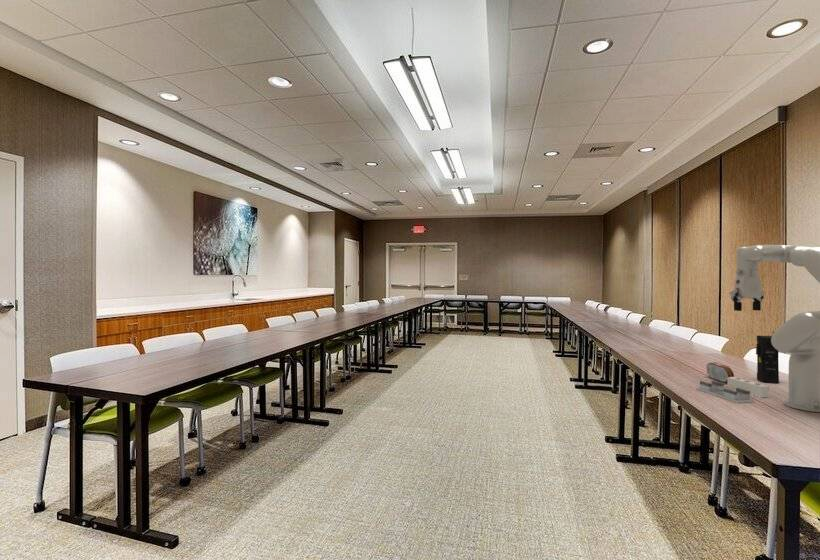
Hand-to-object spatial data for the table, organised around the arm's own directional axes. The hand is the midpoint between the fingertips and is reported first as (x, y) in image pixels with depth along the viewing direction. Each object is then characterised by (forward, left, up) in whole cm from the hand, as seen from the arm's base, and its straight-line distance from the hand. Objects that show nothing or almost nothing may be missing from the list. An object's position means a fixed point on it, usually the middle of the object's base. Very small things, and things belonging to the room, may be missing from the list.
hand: (747, 310), depth 180 cm
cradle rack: (-6, +18, -37) cm, 41 cm away
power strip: (-3, +3, -37) cm, 37 cm away
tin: (+16, -2, -37) cm, 40 cm away
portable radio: (+11, -23, -37) cm, 45 cm away
